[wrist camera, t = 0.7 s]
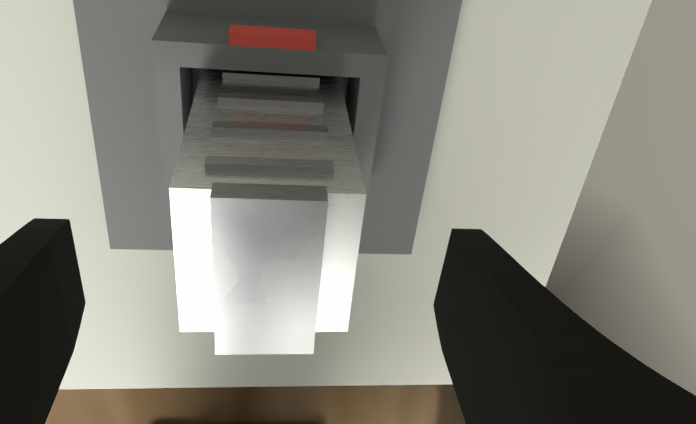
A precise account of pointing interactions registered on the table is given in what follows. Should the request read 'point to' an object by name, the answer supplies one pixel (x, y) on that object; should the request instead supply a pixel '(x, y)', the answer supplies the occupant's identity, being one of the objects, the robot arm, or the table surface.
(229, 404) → the table surface
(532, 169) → the jack stand base
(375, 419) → the table surface
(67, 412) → the table surface
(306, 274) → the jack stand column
